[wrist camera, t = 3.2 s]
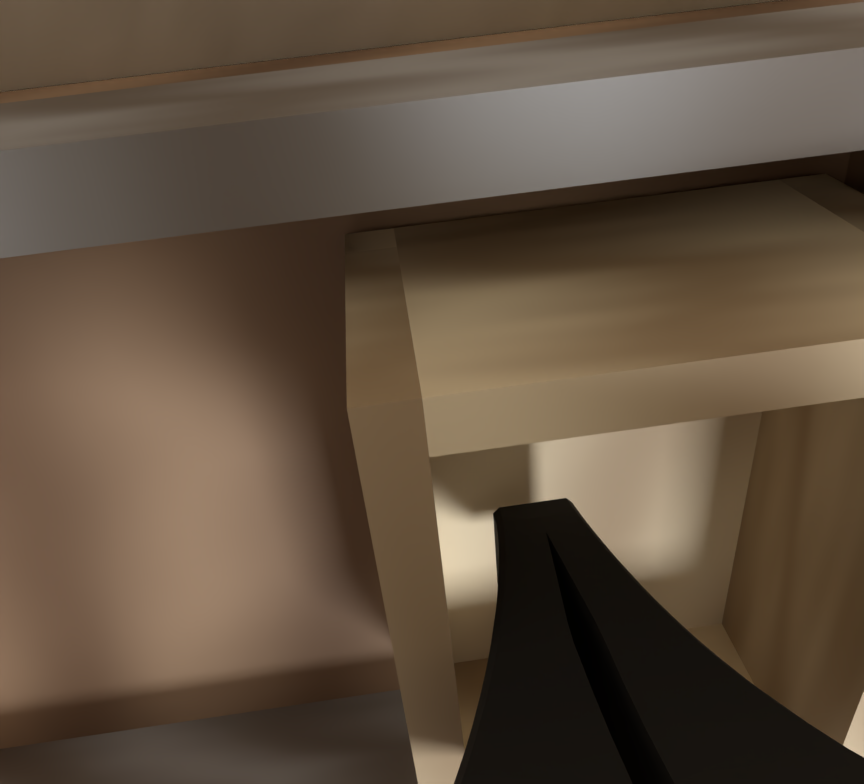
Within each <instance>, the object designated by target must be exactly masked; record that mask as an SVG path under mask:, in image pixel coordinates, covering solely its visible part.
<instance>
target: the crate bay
mask: <svg viewBox="0 0 864 784" xmlns="http://www.w3.org/2000/svg"><path fill="white" fill-rule="evenodd" d="M819 174H827V175H829V176H831V177H833V178H835V179H836V180H838V181H840V182H842V183H844V184H846V185H847V186H849V187H851V188H853V189H855V190H857V191H859V192H860V193H862V194H864V0H783V1H774V2H766V3H757V4H749V5H740V6H732V7H723V8H715V9H706V10H698V11H689V12H681V13H672V14H663V15H655V16H646V17H638V18H629V19H621V20H612V21H604V22H595V23H587V24H578V25H570V26H561V27H553V28H544V29H536V30H527V31H518V32H510V33H501V34H493V35H484V36H476V37H467V38H459V39H450V40H442V41H433V42H425V43H416V44H408V45H399V46H391V47H382V48H373V49H365V50H356V51H348V52H339V53H331V54H322V55H314V56H305V57H297V58H288V59H280V60H271V61H263V62H254V63H246V64H237V65H229V66H220V67H211V68H203V69H194V70H186V71H177V72H169V73H160V74H152V75H143V76H135V77H126V78H118V79H109V80H101V81H92V82H84V83H75V84H66V85H58V86H49V87H41V88H32V89H24V90H15V91H7V92H0V784H418V780H417V775H416V770H415V765H414V759H413V754H412V749H411V744H410V738H409V733H408V728H407V723H406V717H405V712H404V707H403V702H402V696H401V691H400V686H399V681H398V675H397V670H396V665H395V660H394V654H393V649H392V644H391V639H390V633H389V628H388V623H387V617H386V612H385V607H384V602H383V596H382V591H381V586H380V581H379V575H378V570H377V565H376V560H375V554H374V549H373V544H372V539H371V533H370V528H369V523H368V518H367V512H366V507H365V502H364V497H363V491H362V486H361V481H360V475H359V470H358V465H357V460H356V454H355V449H354V444H353V439H352V433H351V428H350V423H349V418H348V412H347V389H346V311H345V234H351V233H359V232H367V231H375V230H383V229H391V228H399V227H407V226H414V225H422V224H430V223H438V222H446V221H454V220H462V219H470V218H478V217H486V216H494V215H502V214H510V213H517V212H525V211H533V210H541V209H549V208H557V207H565V206H573V205H581V204H589V203H597V202H605V201H613V200H620V199H628V198H636V197H644V196H652V195H660V194H668V193H676V192H684V191H692V190H700V189H708V188H716V187H723V186H731V185H739V184H747V183H755V182H763V181H771V180H779V179H787V178H795V177H803V176H811V175H819Z"/></svg>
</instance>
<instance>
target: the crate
mask: <svg viewBox="0 0 864 784" xmlns="http://www.w3.org/2000/svg"><path fill="white" fill-rule="evenodd" d="M345 311H346V389H347V412H348V418H349V423H350V428H351V433H352V439H353V444H354V449H355V454H356V460H357V465H358V470H359V475H360V481H361V486H362V491H363V497H364V502H365V507H366V512H367V518H368V523H369V528H370V533H371V539H372V544H373V549H374V554H375V560H376V565H377V570H378V575H379V581H380V586H381V591H382V596H383V602H384V607H385V612H386V617H387V623H388V628H389V633H390V639H391V644H392V649H393V654H394V660H395V665H396V670H397V675H398V681H399V686H400V691H401V696H402V702H403V707H404V712H405V717H406V723H407V728H408V733H409V738H410V744H411V749H412V754H413V759H414V765H415V770H416V775H417V780H418V784H454V782H455V779H456V776H457V773H458V770H459V767H460V764H461V761H462V758H463V755H464V752H465V749H466V746H467V742H468V739H469V735H470V732H471V729H472V725H473V721H474V717H475V713H476V710H477V706H478V702H479V698H480V694H481V690H482V685H483V681H484V677H485V672H486V667H487V662H488V657H489V652H490V646H491V640H492V633H493V626H494V619H495V612H496V604H497V591H498V583H497V568H496V552H495V535H494V519H493V513H494V512H495V511H496V510H497V509H498V508H499V507H505V506H512V505H520V504H527V503H534V502H541V501H548V500H555V499H562V498H567V499H568V500H570V501H571V502H572V503H573V504H574V506H575V507H576V509H577V510H578V511H579V513H580V514H581V515H582V517H583V518H584V519H585V520H586V522H587V523H588V524H589V526H590V527H591V528H592V529H593V531H594V532H595V533H596V534H597V536H598V537H599V538H600V539H601V540H602V542H603V543H604V544H605V545H606V546H607V548H608V549H609V550H610V551H611V552H612V553H613V555H614V556H615V557H616V558H617V559H618V560H619V561H620V563H621V564H622V565H623V566H624V567H625V568H626V569H627V570H628V571H629V572H630V573H631V574H632V575H633V577H634V578H635V579H636V580H637V581H638V582H639V583H640V584H641V585H642V586H643V587H644V588H645V589H646V590H647V591H648V592H649V593H650V594H651V596H652V597H653V598H654V599H655V600H656V601H657V602H658V603H659V604H660V605H662V606H663V607H664V608H665V609H666V610H667V611H668V612H669V613H670V614H671V615H672V616H673V617H674V618H675V619H676V620H677V621H678V622H679V623H680V624H681V625H682V626H684V627H685V628H686V629H687V630H688V631H689V632H690V633H691V634H692V635H694V636H695V637H696V638H697V639H698V640H699V641H700V642H701V643H703V644H704V645H705V646H706V647H707V648H709V649H710V650H711V651H712V652H713V653H715V654H716V655H717V656H718V657H719V658H720V659H722V660H723V661H724V662H725V663H727V664H728V665H729V666H730V667H732V668H733V669H734V670H736V671H737V672H738V673H739V674H741V675H742V676H743V677H744V678H746V679H747V680H748V681H750V682H751V683H752V684H754V685H755V686H756V687H758V688H759V689H761V690H762V691H763V692H765V693H766V694H768V695H769V696H770V697H772V698H773V699H775V700H776V701H778V702H779V703H780V704H782V705H783V706H785V707H786V708H787V709H789V710H790V711H792V712H793V713H795V714H796V715H797V716H799V717H800V718H802V719H803V720H804V721H806V722H807V723H809V724H810V725H812V726H814V727H815V728H817V729H818V730H820V731H821V732H823V733H825V734H826V735H828V736H829V737H831V738H832V739H834V740H835V741H837V742H839V743H840V744H842V745H843V746H845V747H846V748H848V749H850V750H851V751H853V752H855V753H857V754H859V755H860V756H862V757H864V194H862V193H860V192H859V191H857V190H855V189H853V188H851V187H849V186H847V185H846V184H844V183H842V182H840V181H838V180H836V179H835V178H833V177H831V176H829V175H827V174H819V175H811V176H803V177H795V178H787V179H779V180H771V181H763V182H755V183H747V184H739V185H731V186H723V187H716V188H708V189H700V190H692V191H684V192H676V193H668V194H660V195H652V196H644V197H636V198H628V199H620V200H613V201H605V202H597V203H589V204H581V205H573V206H565V207H557V208H549V209H541V210H533V211H525V212H517V213H510V214H502V215H494V216H486V217H478V218H470V219H462V220H454V221H446V222H438V223H430V224H422V225H414V226H407V227H399V228H391V229H383V230H375V231H367V232H359V233H351V234H345Z"/></svg>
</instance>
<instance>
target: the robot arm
mask: <svg viewBox="0 0 864 784" xmlns="http://www.w3.org/2000/svg"><path fill="white" fill-rule="evenodd" d="M493 519H494V535H495V552H496V568H497V583H498V591H497V604H496V612H495V619H494V626H493V633H492V640H491V646H490V652H489V657H488V662H487V667H486V672H485V677H484V681H483V685H482V690H481V694H480V698H479V702H478V706H477V710H476V713H475V717H474V721H473V725H472V729H471V732H470V735H469V739H468V742H467V746H466V749H465V752H464V755H463V758H462V761H461V764H460V767H459V770H458V773H457V776H456V779H455V782H454V784H864V757H862V756H860V755H859V754H857V753H855V752H853V751H851V750H850V749H848V748H846V747H845V746H843V745H842V744H840V743H839V742H837V741H835V740H834V739H832V738H831V737H829V736H828V735H826V734H825V733H823V732H821V731H820V730H818V729H817V728H815V727H814V726H812V725H810V724H809V723H807V722H806V721H804V720H803V719H802V718H800V717H799V716H797V715H796V714H795V713H793V712H792V711H790V710H789V709H787V708H786V707H785V706H783V705H782V704H780V703H779V702H778V701H776V700H775V699H773V698H772V697H770V696H769V695H768V694H766V693H765V692H763V691H762V690H761V689H759V688H758V687H756V686H755V685H754V684H752V683H751V682H750V681H748V680H747V679H746V678H744V677H743V676H742V675H741V674H739V673H738V672H737V671H736V670H734V669H733V668H732V667H730V666H729V665H728V664H727V663H725V662H724V661H723V660H722V659H720V658H719V657H718V656H717V655H716V654H715V653H713V652H712V651H711V650H710V649H709V648H707V647H706V646H705V645H704V644H703V643H701V642H700V641H699V640H698V639H697V638H696V637H695V636H694V635H692V634H691V633H690V632H689V631H688V630H687V629H686V628H685V627H684V626H682V625H681V624H680V623H679V622H678V621H677V620H676V619H675V618H674V617H673V616H672V615H671V614H670V613H669V612H668V611H667V610H666V609H665V608H664V607H663V606H662V605H660V604H659V603H658V602H657V601H656V600H655V599H654V598H653V597H652V596H651V594H650V593H649V592H648V591H647V590H646V589H645V588H644V587H643V586H642V585H641V584H640V583H639V582H638V581H637V580H636V579H635V578H634V577H633V575H632V574H631V573H630V572H629V571H628V570H627V569H626V568H625V567H624V566H623V565H622V564H621V563H620V561H619V560H618V559H617V558H616V557H615V556H614V555H613V553H612V552H611V551H610V550H609V549H608V548H607V546H606V545H605V544H604V543H603V542H602V540H601V539H600V538H599V537H598V536H597V534H596V533H595V532H594V531H593V529H592V528H591V527H590V526H589V524H588V523H587V522H586V520H585V519H584V518H583V517H582V515H581V514H580V513H579V511H578V510H577V509H576V507H575V506H574V504H573V503H572V502H571V501H570V500H568V499H567V498H562V499H555V500H548V501H541V502H534V503H527V504H520V505H512V506H505V507H499V508H498V509H497V510H496V511H495V512H494V513H493Z"/></svg>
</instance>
